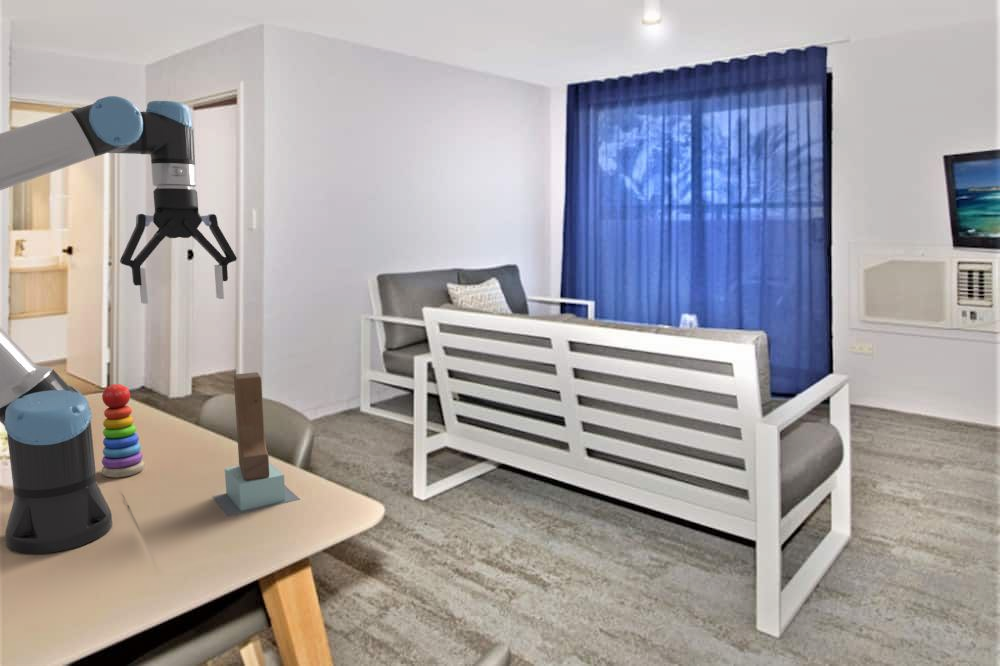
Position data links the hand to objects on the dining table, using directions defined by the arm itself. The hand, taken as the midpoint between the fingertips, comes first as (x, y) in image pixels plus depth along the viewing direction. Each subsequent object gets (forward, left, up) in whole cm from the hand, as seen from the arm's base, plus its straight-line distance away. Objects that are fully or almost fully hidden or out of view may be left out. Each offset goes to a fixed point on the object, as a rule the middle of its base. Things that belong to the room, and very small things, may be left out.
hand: (183, 300), depth 136 cm
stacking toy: (-11, +15, -37) cm, 41 cm away
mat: (+7, -17, -37) cm, 41 cm away
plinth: (+7, -16, -36) cm, 40 cm away
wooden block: (+7, -16, -31) cm, 36 cm away
